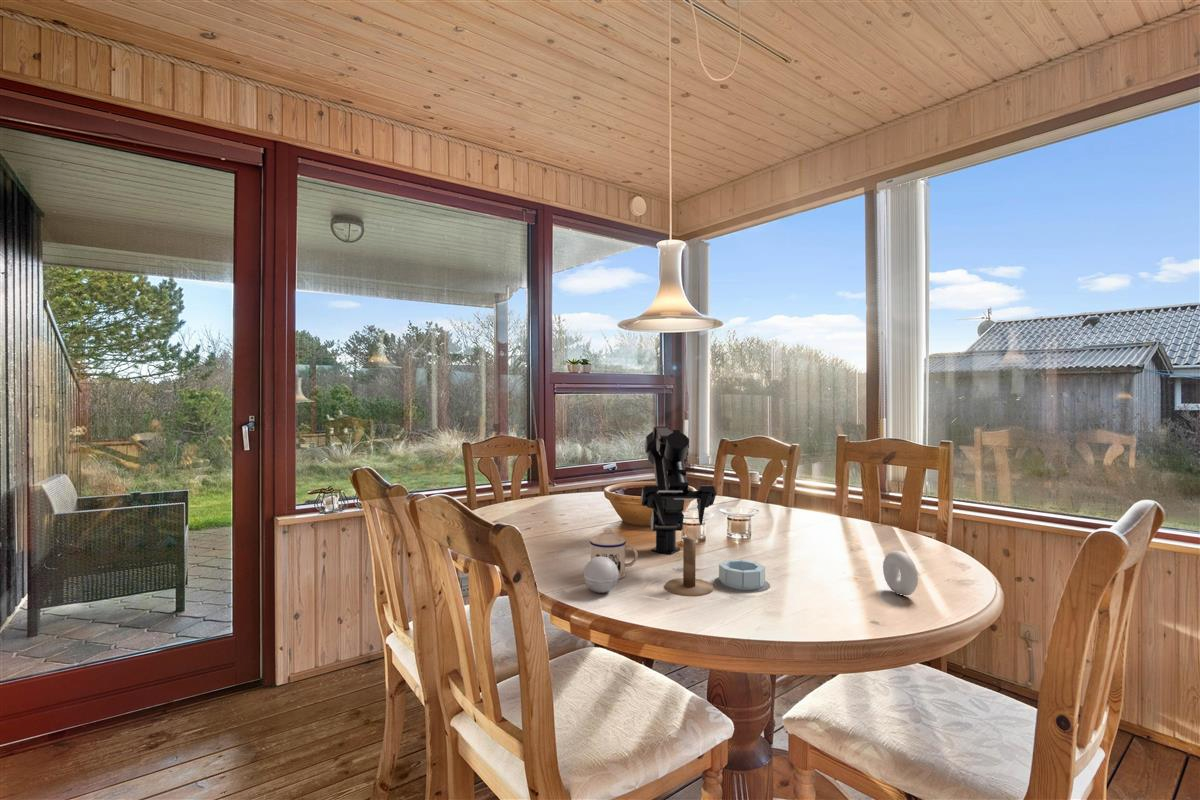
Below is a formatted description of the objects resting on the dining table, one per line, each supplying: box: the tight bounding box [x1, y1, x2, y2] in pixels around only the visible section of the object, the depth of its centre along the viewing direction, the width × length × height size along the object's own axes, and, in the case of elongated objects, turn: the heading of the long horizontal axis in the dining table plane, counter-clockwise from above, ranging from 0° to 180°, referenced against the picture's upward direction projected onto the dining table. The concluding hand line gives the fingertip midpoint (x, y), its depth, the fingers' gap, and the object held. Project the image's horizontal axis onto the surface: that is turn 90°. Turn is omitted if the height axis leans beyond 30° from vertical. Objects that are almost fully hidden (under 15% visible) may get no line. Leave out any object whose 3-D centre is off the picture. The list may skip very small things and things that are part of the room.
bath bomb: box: [583, 556, 619, 594], centre depth 130 cm, size 8×8×8 cm
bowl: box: [718, 559, 766, 590], centre depth 135 cm, size 10×10×4 cm
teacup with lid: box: [589, 527, 639, 580], centre depth 141 cm, size 12×9×12 cm
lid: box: [665, 536, 714, 597], centre depth 131 cm, size 11×11×12 cm
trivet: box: [713, 576, 771, 594], centre depth 135 cm, size 13×13×1 cm
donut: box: [882, 549, 919, 596], centre depth 128 cm, size 10×3×10 cm, turn 6°
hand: (682, 523), depth 139 cm, fingers open, 9 cm apart
